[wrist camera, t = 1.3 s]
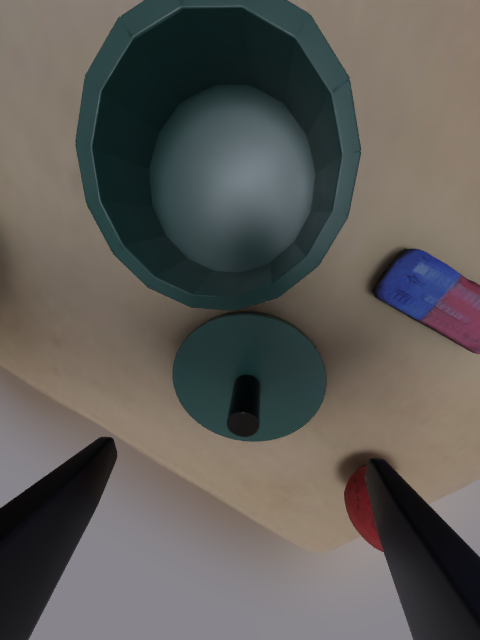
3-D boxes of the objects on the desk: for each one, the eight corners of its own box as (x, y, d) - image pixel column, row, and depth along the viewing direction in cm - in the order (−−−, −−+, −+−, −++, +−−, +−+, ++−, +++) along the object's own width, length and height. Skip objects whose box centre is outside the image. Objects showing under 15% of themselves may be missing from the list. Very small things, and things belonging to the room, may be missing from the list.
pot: (187, 300, 21) (156, 335, 15) (107, 127, 16) (20, 80, 11) (343, 248, 18) (380, 266, 12) (296, 24, 14) (319, -118, 8)
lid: (209, 442, 27) (196, 496, 22) (151, 334, 22) (116, 371, 17) (338, 418, 24) (357, 474, 19) (301, 288, 19) (314, 315, 14)
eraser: (520, 312, 19) (545, 321, 17) (475, 353, 20) (494, 365, 18) (398, 237, 17) (413, 239, 15) (359, 287, 19) (369, 295, 17)
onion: (332, 450, 26) (359, 545, 18) (393, 444, 25) (446, 542, 17) (338, 487, 28) (364, 585, 20) (394, 483, 27) (443, 586, 19)
